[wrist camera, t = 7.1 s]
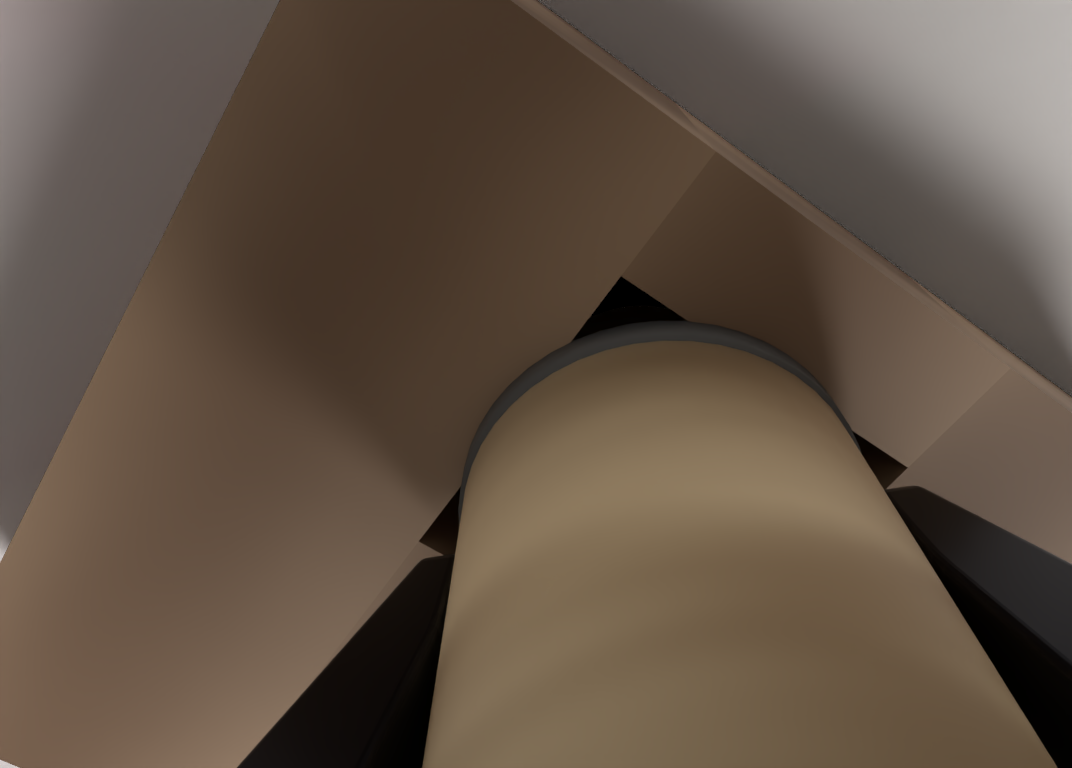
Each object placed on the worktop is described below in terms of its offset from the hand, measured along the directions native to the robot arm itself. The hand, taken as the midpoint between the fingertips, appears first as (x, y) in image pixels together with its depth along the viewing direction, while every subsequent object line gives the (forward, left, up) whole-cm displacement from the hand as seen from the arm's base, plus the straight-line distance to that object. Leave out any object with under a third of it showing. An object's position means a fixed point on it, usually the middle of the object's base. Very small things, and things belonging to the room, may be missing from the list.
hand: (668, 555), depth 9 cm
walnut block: (0, +3, -4) cm, 5 cm away
